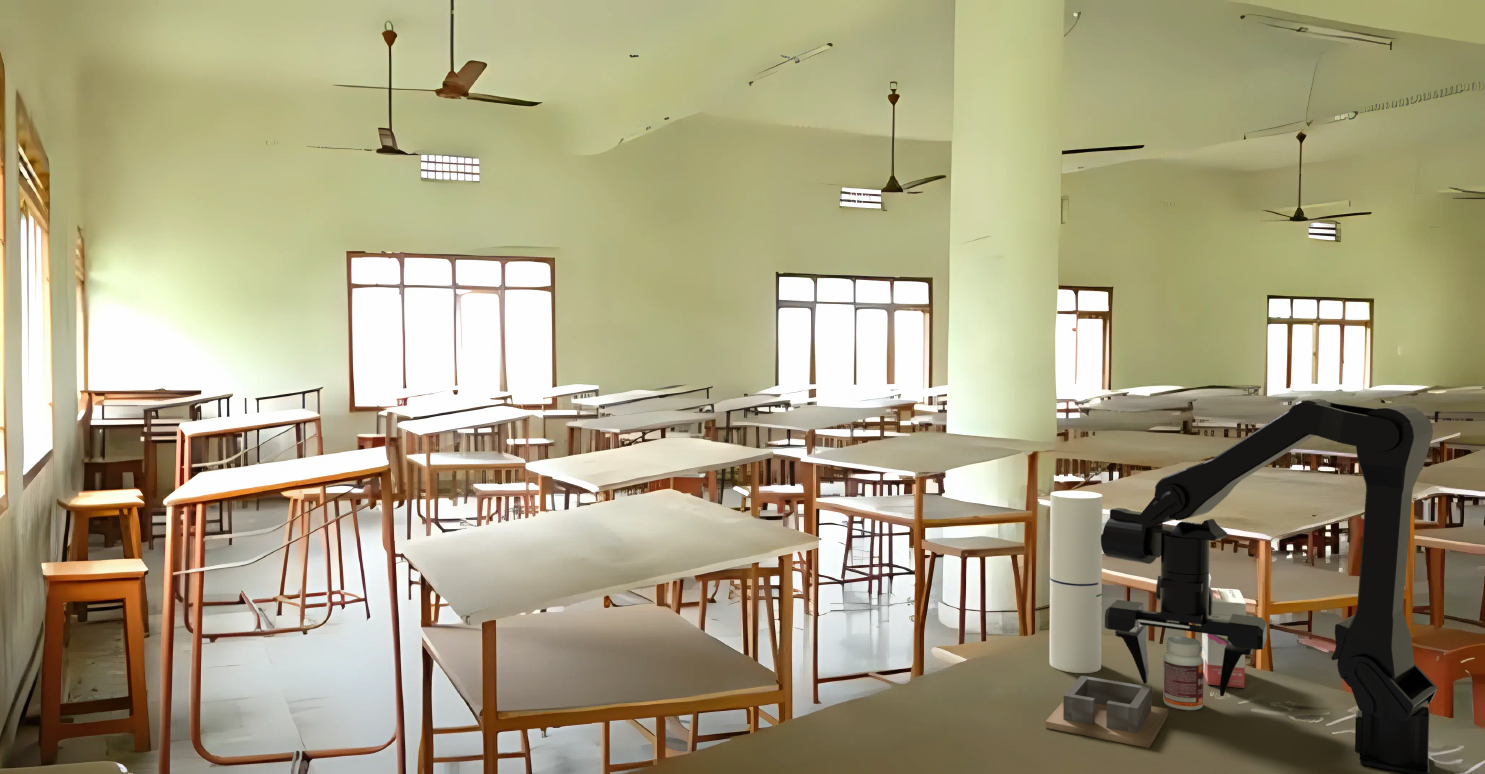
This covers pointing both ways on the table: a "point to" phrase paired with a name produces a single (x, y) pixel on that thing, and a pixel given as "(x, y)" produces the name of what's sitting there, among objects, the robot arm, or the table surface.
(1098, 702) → the bottle holder
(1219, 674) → the white cardboard box
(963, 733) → the table surface
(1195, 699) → the pill bottle
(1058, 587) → the cylindrical container
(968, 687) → the table surface
